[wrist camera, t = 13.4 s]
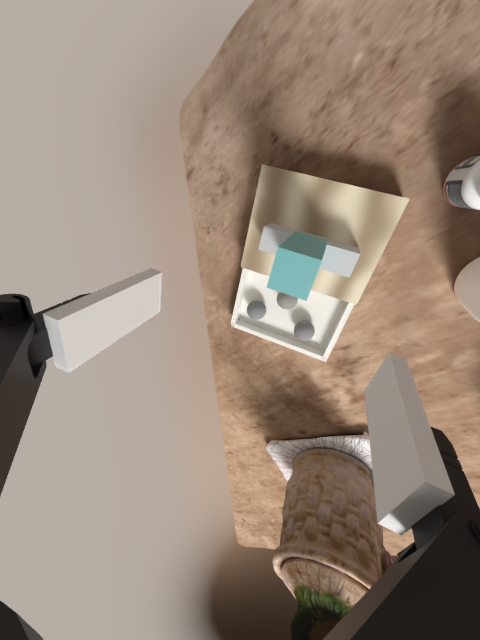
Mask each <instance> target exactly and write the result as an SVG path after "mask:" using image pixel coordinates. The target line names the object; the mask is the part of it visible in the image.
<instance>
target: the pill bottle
mask: <svg viewBox="0 0 480 640" xmlns="http://www.w3.org/2000/svg"><path fill="white" fill-rule="evenodd" d="M443 193H444V197H445V199H446V200H447V201H448V202H449V203H450V204H451V205H453V206H456V207H461V208H469V209H476V210H480V155H478V156H475V157H472V158H469V159H467V160H465V161H463V162H461V163H460V164H458V165H457V166H456V167H455V168H454V169H453V170H452V171H451V172H450V174H449V175H448V177H447V178H446V181H445V183H444V187H443Z"/></svg>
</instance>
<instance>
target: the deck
mask: <svg viewBox="0 0 480 640" xmlns="http://www.w3.org/2000/svg"><path fill="white" fill-rule="evenodd" d="M408 201H409V199H408V198H404V197H400V196H395V195H391V194H387V193H383V192H378V191H374V190H370V189H366V188H361V187H357V186H353V185H349V184H344V183H340V182H336V181H332V180H327V179H323V178H319V177H314V176H310V175H306V174H302V173H297V172H293V171H289V170H285V169H280V168H276V167H272V166H268V165H263V164H262V167H261V172H260V176H259V181H258V186H257V191H256V195H255V200H254V205H253V210H252V214H251V219H250V224H249V228H248V233H247V238H246V243H245V247H244V252H243V257H242V262H241V266H240V267H242V268H245V269H248V270H251V271H254V272H257V273H260V274H263V275H266V276H269V277H270V273H271V270H272V266H273V263H274V259H275V256H276V255H274V254H271V253H268V252H264V251H261V250H258V249H259V245H260V240H261V236H262V232H263V228H264V226H266V225H268V224H270V223H274V224H278V225H281V226H285V227H288V228H292V229H295V230H299V231H303V232H306V233H310V234H313V235H317V236H320V237H324V238H327V239H331V240H334V241H338V242H341V243H345V244H349V245H352V246H356V247H359V250H360V256H359V258H358V261H357V263H356V265H355V267H354V269H353V271H352V274H351V276H350V278H349V277H345V276H342V275H339V274H336V273H332V272H329V271H326V270H323V269H319V270H318V272H317V275H316V278H315V280H314V283H313V285H312V288H311V290H312V291H315V292H319V293H322V294H325V295H328V296H331V297H334V298H337V299H340V300H343V301H346V302H349V303H352V304H355V305H357V303H358V301H359V299H360V297H361V295H362V293H363V291H364V289H365V287H366V285H367V283H368V281H369V279H370V277H371V275H372V273H373V271H374V269H375V267H376V265H377V263H378V261H379V259H380V257H381V255H382V253H383V251H384V249H385V247H386V245H387V243H388V241H389V239H390V237H391V235H392V233H393V231H394V229H395V227H396V225H397V223H398V221H399V219H400V217H401V215H402V213H403V211H404V209H405V207H406V205H407V203H408Z"/></svg>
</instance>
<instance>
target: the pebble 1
mask: <svg viewBox="0 0 480 640" xmlns="http://www.w3.org/2000/svg"><path fill="white" fill-rule="evenodd" d="M247 314H248V316H249V317H250V318H251V319H254V320H259V319H262V318H263V317H264V316H265V314H266V306H265V304H264V303H263V302H261V301H259V300H255V301H252V302H250V303H249V304H248V306H247Z"/></svg>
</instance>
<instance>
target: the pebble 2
mask: <svg viewBox="0 0 480 640" xmlns="http://www.w3.org/2000/svg"><path fill="white" fill-rule="evenodd" d="M314 333H315V329H314V326H313V324H312V323H310V322H309V321H305V320H303V321H300V322H298V323H297V324H296V325H295V327H294V334H295V336H296V337H297V338H298V339H299V340H302V341H306V340H309V339H311V338H312V337H313V335H314Z"/></svg>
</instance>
